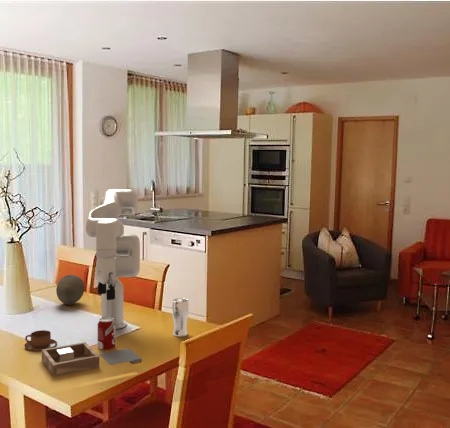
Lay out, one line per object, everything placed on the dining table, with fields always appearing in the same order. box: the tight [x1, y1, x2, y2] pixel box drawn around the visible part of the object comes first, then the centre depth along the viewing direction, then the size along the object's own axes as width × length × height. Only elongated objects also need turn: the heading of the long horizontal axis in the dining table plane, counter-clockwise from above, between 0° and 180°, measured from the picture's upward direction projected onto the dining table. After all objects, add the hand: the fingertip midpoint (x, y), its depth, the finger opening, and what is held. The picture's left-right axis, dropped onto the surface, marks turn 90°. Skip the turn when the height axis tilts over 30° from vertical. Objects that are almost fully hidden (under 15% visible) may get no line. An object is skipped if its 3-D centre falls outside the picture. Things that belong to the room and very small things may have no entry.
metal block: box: [56, 347, 74, 363], centre depth 187 cm, size 5×5×4 cm
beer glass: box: [171, 297, 190, 338], centre depth 220 cm, size 7×7×15 cm
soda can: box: [97, 317, 116, 351], centre depth 202 cm, size 7×7×12 cm
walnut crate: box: [41, 342, 100, 377], centre depth 185 cm, size 16×16×5 cm
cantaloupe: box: [55, 274, 85, 306], centre depth 261 cm, size 14×14×15 cm
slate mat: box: [99, 347, 142, 366], centre depth 193 cm, size 12×12×1 cm
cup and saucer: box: [23, 329, 58, 352], centre depth 202 cm, size 12×12×6 cm
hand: (106, 296), depth 200 cm, fingers open, 9 cm apart
